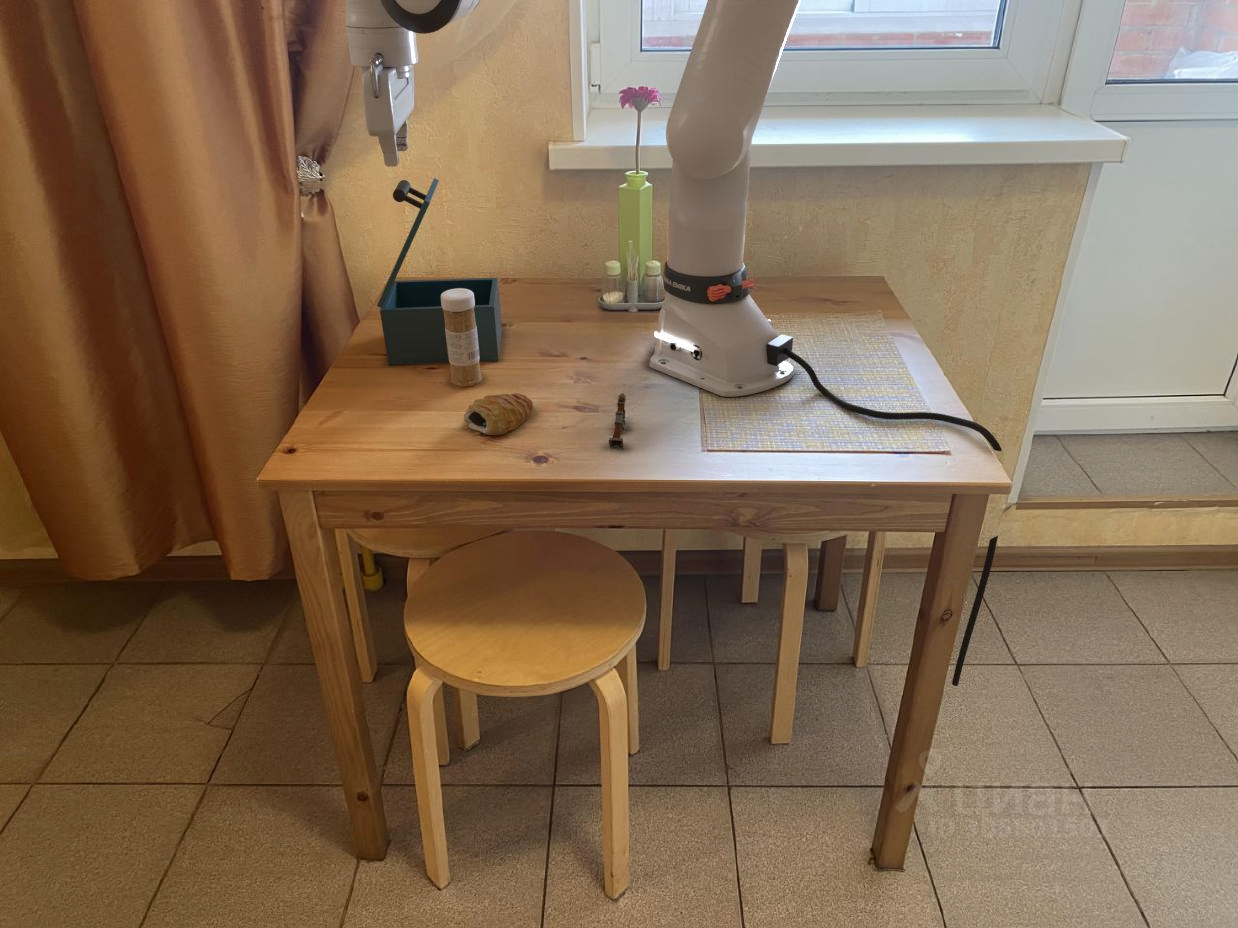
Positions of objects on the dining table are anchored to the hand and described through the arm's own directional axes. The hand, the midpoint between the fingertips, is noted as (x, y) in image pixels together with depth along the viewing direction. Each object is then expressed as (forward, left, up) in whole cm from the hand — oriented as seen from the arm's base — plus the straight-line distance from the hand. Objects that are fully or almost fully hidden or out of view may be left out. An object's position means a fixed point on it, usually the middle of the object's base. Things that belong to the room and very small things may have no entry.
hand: (397, 157), depth 124 cm
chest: (-2, -3, -29) cm, 29 cm away
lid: (0, 0, -12) cm, 12 cm away
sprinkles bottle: (-15, 0, -29) cm, 33 cm away
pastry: (-29, +2, -29) cm, 41 cm away
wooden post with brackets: (-41, -9, -29) cm, 51 cm away
